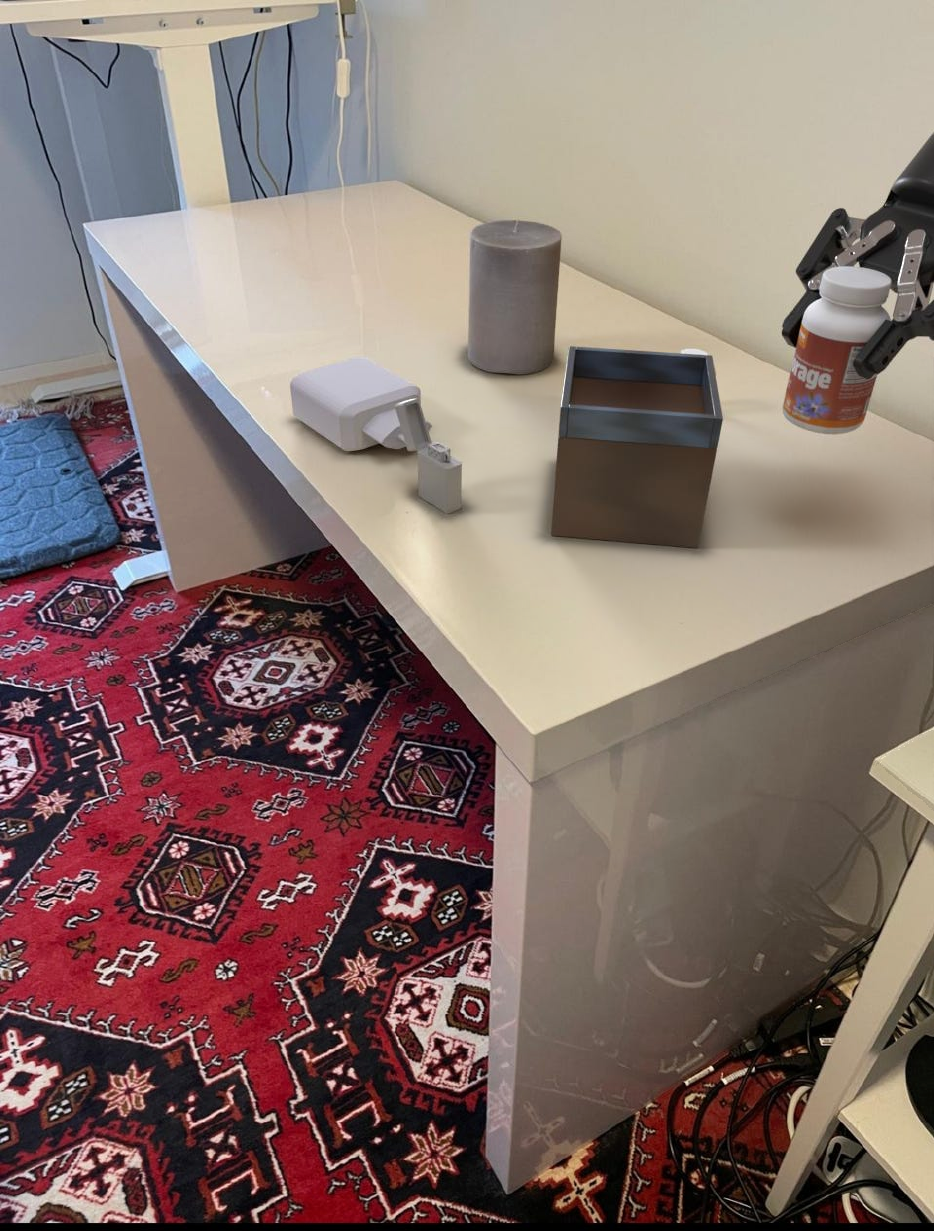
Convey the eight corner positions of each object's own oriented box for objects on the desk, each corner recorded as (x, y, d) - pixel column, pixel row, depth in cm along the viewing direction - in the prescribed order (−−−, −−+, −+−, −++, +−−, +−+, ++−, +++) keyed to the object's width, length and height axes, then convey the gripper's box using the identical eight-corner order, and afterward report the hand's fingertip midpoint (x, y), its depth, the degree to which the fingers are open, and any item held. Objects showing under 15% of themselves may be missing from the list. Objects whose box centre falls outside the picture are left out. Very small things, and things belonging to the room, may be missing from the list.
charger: (380, 481, 85) (293, 421, 94) (460, 451, 90) (370, 397, 99) (378, 433, 82) (288, 376, 92) (461, 405, 87) (368, 353, 96)
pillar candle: (516, 335, 113) (523, 202, 104) (571, 363, 107) (583, 223, 98) (449, 354, 108) (450, 215, 99) (502, 383, 102) (508, 239, 93)
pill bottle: (765, 408, 76) (794, 267, 69) (830, 397, 78) (865, 258, 71) (811, 442, 71) (847, 294, 65) (880, 430, 73) (922, 284, 66)
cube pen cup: (691, 476, 87) (712, 355, 80) (698, 548, 77) (723, 418, 70) (559, 465, 88) (569, 345, 81) (550, 535, 79) (560, 406, 72)
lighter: (462, 507, 82) (463, 422, 77) (447, 514, 81) (447, 428, 76) (412, 475, 86) (410, 393, 81) (396, 481, 85) (393, 398, 80)
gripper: (878, 110, 70) (733, 298, 73) (1063, 146, 61) (889, 362, 63) (904, 178, 76) (769, 351, 78) (1078, 221, 66) (918, 417, 68)
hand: (823, 355), depth 71 cm, fingers closed on pill bottle, 6 cm apart
